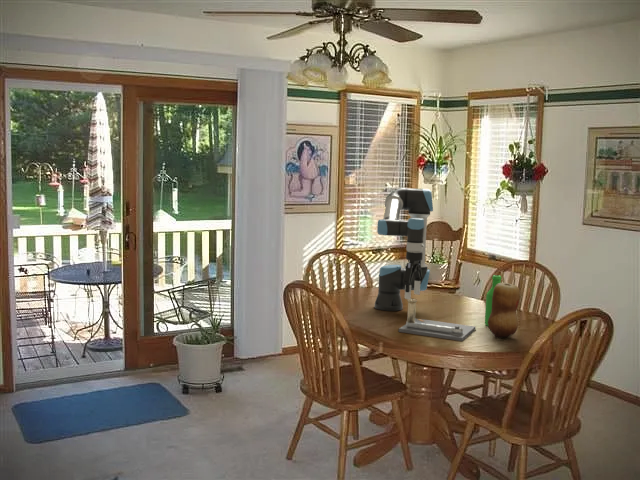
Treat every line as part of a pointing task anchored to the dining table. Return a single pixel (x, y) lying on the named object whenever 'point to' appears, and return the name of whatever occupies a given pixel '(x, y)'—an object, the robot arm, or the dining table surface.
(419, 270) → the robot arm
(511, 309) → the butternut squash
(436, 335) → the lever board
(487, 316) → the bottle
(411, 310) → the lever
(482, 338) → the dining table surface
